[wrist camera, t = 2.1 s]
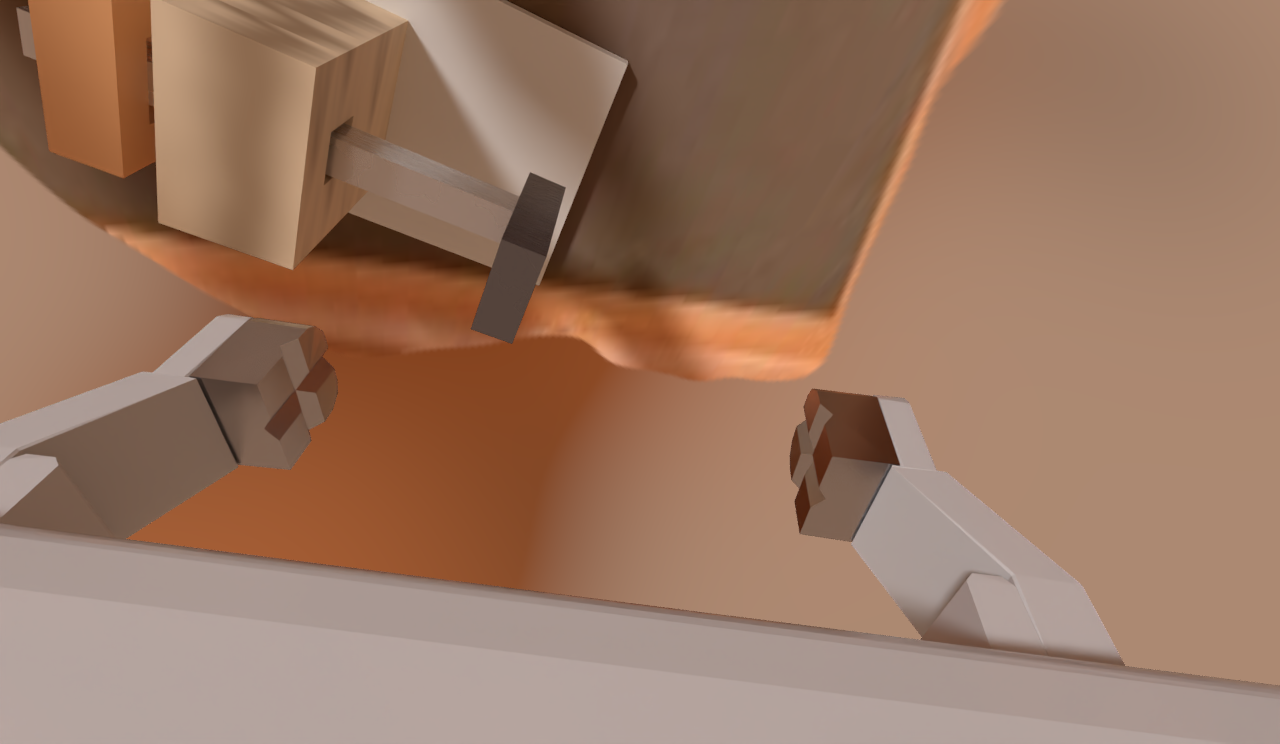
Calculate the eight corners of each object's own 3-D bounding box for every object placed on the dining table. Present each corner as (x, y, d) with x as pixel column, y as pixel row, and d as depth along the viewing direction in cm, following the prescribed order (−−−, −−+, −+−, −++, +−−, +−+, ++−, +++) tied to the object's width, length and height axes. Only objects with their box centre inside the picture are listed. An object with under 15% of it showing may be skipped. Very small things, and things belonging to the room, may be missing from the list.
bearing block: (279, 142, 38) (158, 222, 29) (295, -33, 33) (150, -5, 23) (377, 181, 40) (292, 270, 30) (408, 20, 34) (316, 67, 25)
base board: (77, 99, 38) (65, 104, 37) (42, -231, 29) (25, -234, 28) (541, 278, 45) (539, 285, 44) (628, 60, 36) (627, 64, 35)
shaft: (62, 78, 29) (-98, 127, 23) (48, -35, 27) (-139, -15, 20) (536, 264, 35) (512, 343, 29) (566, 187, 33) (546, 257, 26)
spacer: (160, 104, 34) (49, 151, 28) (155, -56, 29) (21, -44, 23) (218, 127, 35) (123, 178, 28) (223, -26, 30) (110, -6, 24)
